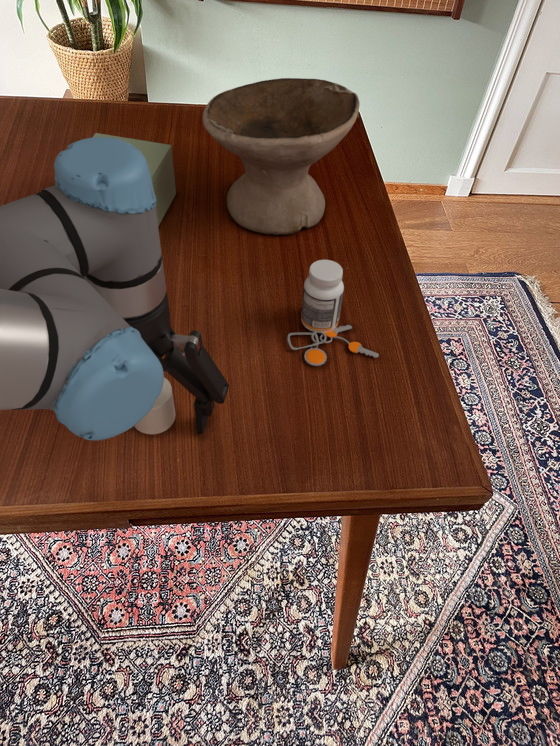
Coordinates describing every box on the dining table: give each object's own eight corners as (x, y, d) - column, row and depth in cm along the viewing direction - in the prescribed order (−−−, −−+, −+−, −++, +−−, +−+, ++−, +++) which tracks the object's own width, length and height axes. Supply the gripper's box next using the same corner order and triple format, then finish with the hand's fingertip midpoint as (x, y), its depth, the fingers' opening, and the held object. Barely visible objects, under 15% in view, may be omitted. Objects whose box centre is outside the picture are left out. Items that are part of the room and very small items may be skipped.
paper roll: (124, 427, 73) (117, 402, 69) (143, 394, 77) (137, 368, 72) (164, 439, 73) (160, 414, 68) (182, 405, 76) (179, 379, 72)
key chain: (293, 368, 81) (293, 364, 80) (284, 330, 85) (285, 326, 85) (380, 360, 83) (381, 357, 82) (367, 324, 87) (368, 320, 87)
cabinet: (141, 257, 94) (133, 207, 86) (62, 243, 95) (47, 193, 88) (176, 193, 106) (171, 144, 98) (105, 181, 107) (95, 132, 99)
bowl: (295, 154, 116) (304, 49, 101) (373, 221, 104) (397, 113, 88) (181, 188, 107) (171, 78, 91) (251, 267, 94) (254, 155, 78)
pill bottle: (315, 304, 90) (321, 251, 82) (345, 320, 87) (354, 268, 80) (293, 322, 87) (297, 270, 79) (323, 340, 84) (331, 288, 77)
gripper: (256, 291, 59) (252, 410, 76) (31, 251, 61) (75, 375, 78) (239, 344, 55) (239, 458, 71) (-4, 298, 57) (51, 420, 73)
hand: (154, 415), depth 75 cm, fingers open, 12 cm apart
